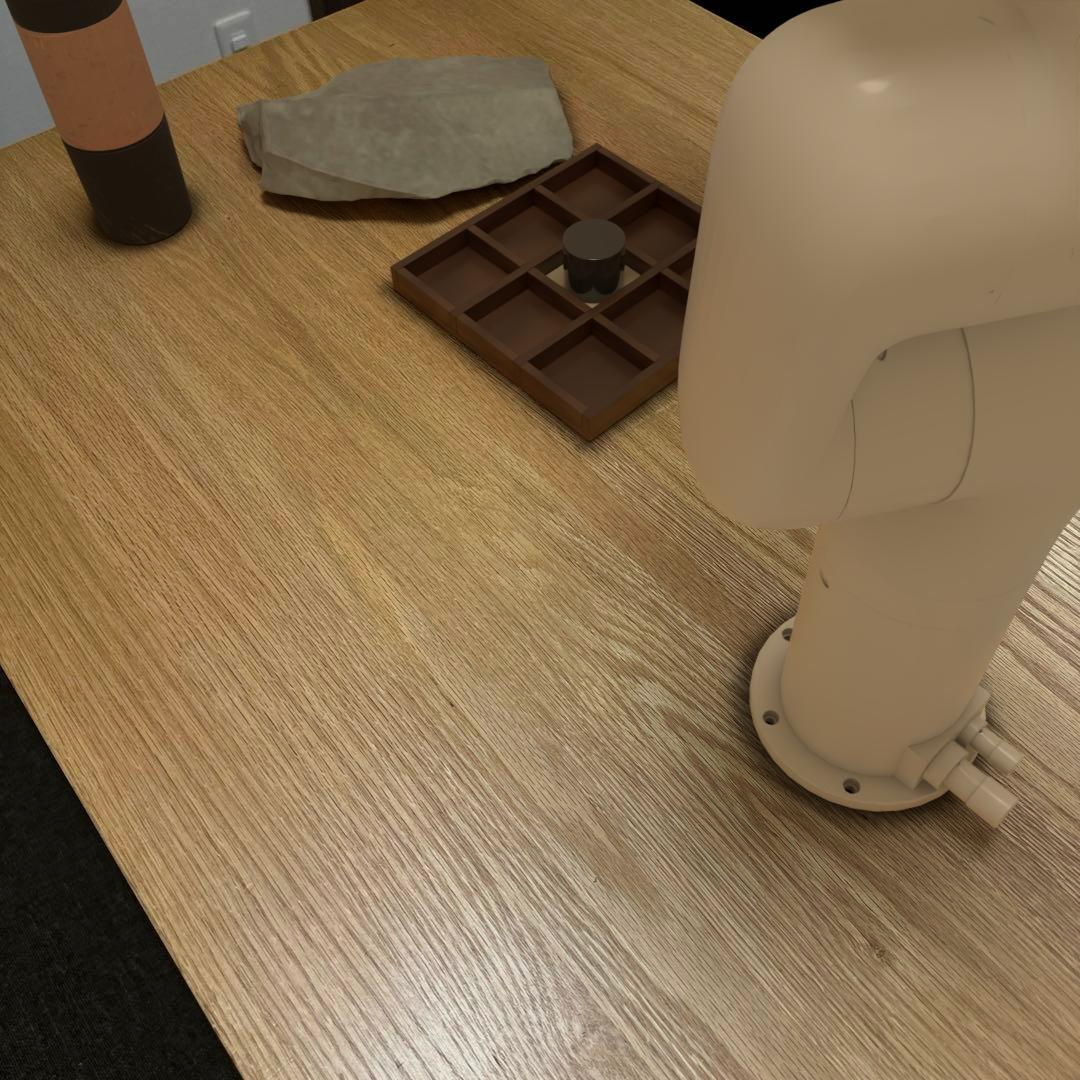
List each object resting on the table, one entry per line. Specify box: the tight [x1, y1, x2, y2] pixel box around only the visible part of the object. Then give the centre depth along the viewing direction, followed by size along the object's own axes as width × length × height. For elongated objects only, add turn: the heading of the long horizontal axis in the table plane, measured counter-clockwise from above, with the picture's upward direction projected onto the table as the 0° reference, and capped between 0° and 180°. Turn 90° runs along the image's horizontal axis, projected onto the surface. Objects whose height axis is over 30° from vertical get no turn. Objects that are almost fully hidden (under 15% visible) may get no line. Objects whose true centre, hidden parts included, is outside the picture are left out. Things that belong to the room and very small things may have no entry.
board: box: [389, 142, 702, 442], centre depth 86 cm, size 21×21×2 cm
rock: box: [235, 54, 575, 202], centre depth 96 cm, size 27×6×20 cm
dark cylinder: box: [562, 219, 626, 303], centre depth 85 cm, size 4×4×4 cm
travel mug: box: [4, 0, 192, 245], centre depth 86 cm, size 8×8×20 cm
